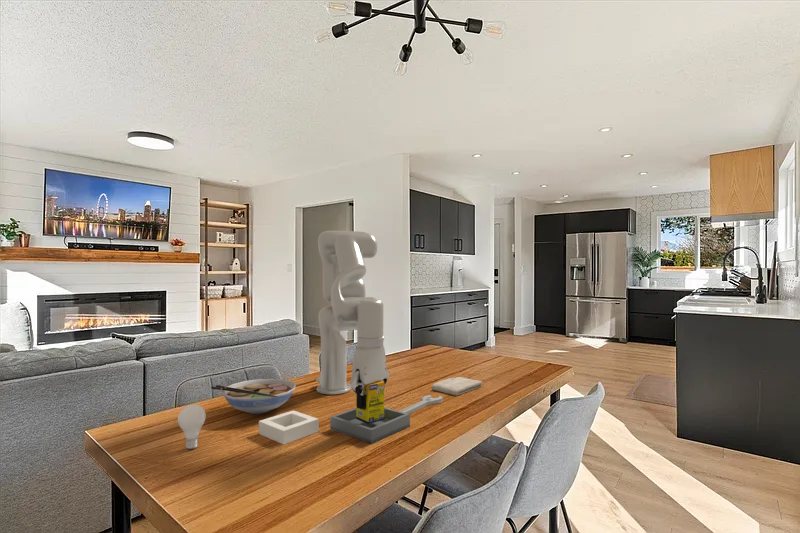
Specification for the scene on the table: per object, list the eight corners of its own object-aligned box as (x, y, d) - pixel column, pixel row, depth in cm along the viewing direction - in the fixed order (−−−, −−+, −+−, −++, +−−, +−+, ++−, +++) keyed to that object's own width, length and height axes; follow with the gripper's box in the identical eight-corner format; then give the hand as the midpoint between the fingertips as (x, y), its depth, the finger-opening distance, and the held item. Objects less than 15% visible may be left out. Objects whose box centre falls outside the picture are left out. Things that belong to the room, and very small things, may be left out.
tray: (330, 429, 120) (330, 416, 120) (369, 414, 133) (369, 403, 133) (371, 443, 110) (371, 430, 110) (409, 426, 123) (409, 414, 123)
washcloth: (484, 387, 165) (484, 379, 165) (457, 397, 152) (457, 389, 152) (458, 382, 173) (458, 374, 173) (431, 391, 160) (431, 383, 160)
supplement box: (368, 425, 117) (368, 385, 118) (355, 419, 122) (355, 381, 122) (384, 420, 121) (385, 381, 121) (372, 414, 126) (372, 377, 126)
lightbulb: (184, 444, 110) (184, 401, 110) (209, 443, 111) (209, 400, 111) (173, 454, 104) (173, 409, 104) (200, 453, 104) (200, 408, 105)
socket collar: (258, 433, 117) (258, 420, 117) (293, 422, 126) (293, 410, 126) (283, 444, 110) (283, 430, 110) (318, 431, 119) (318, 418, 119)
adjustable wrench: (396, 421, 128) (396, 415, 128) (381, 417, 132) (381, 411, 132) (445, 401, 146) (445, 396, 146) (430, 398, 151) (430, 393, 151)
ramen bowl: (313, 405, 142) (313, 380, 142) (264, 428, 121) (264, 399, 121) (256, 396, 152) (256, 373, 152) (202, 416, 132) (202, 389, 132)
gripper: (380, 337, 131) (380, 395, 131) (338, 345, 117) (338, 410, 117) (399, 340, 126) (399, 400, 126) (358, 348, 113) (357, 416, 113)
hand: (370, 404), depth 122 cm, fingers closed on supplement box, 6 cm apart
